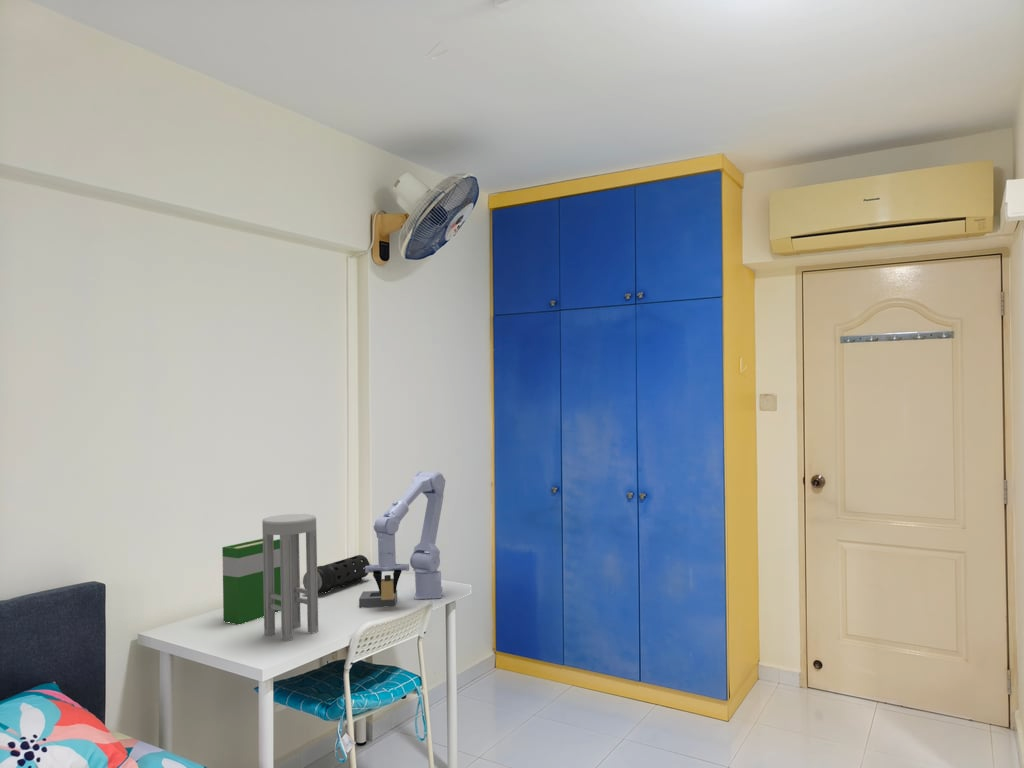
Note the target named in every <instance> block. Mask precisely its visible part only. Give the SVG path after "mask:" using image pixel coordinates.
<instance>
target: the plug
mask: <svg viewBox="0 0 1024 768" xmlns="http://www.w3.org/2000/svg"><path fill="white" fill-rule="evenodd" d="M394 596H395V593H394V578H393V577H392V578H391V574H386V575H384V578H382V581H381V600H390V599H394Z"/></svg>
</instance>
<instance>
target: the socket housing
mask: <svg viewBox="0 0 1024 768" xmlns="http://www.w3.org/2000/svg"><path fill="white" fill-rule="evenodd" d="M397 601H398V589H396V593H395V596H394V599H390V600H381V594H380V592H379V590H371V591H370V590H369V591H368V590H367V591H362V592H361V594H360V596H359V598H358V605H359V606H358V608H359V607H360V608H361V607H367V608H382V607H384V606H388V607H395V606H396V605H397ZM360 608H359V609H360ZM384 608H385V607H384Z"/></svg>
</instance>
